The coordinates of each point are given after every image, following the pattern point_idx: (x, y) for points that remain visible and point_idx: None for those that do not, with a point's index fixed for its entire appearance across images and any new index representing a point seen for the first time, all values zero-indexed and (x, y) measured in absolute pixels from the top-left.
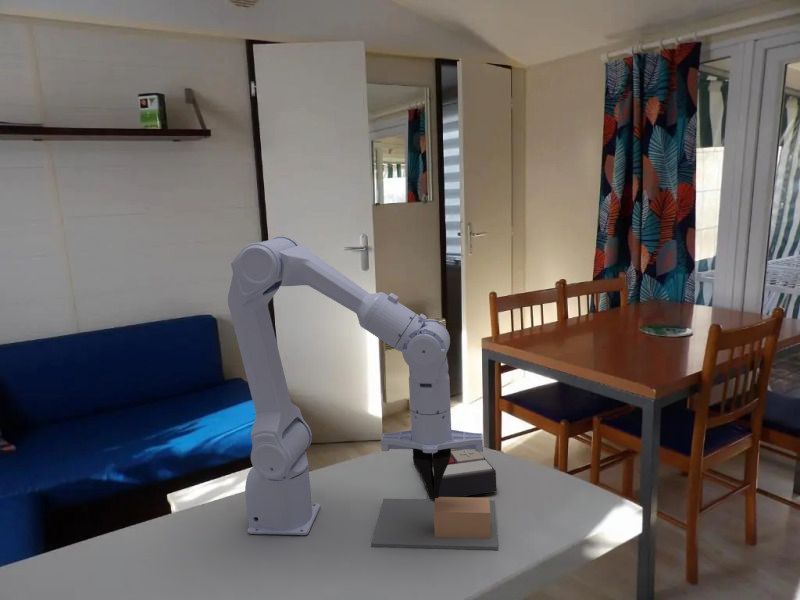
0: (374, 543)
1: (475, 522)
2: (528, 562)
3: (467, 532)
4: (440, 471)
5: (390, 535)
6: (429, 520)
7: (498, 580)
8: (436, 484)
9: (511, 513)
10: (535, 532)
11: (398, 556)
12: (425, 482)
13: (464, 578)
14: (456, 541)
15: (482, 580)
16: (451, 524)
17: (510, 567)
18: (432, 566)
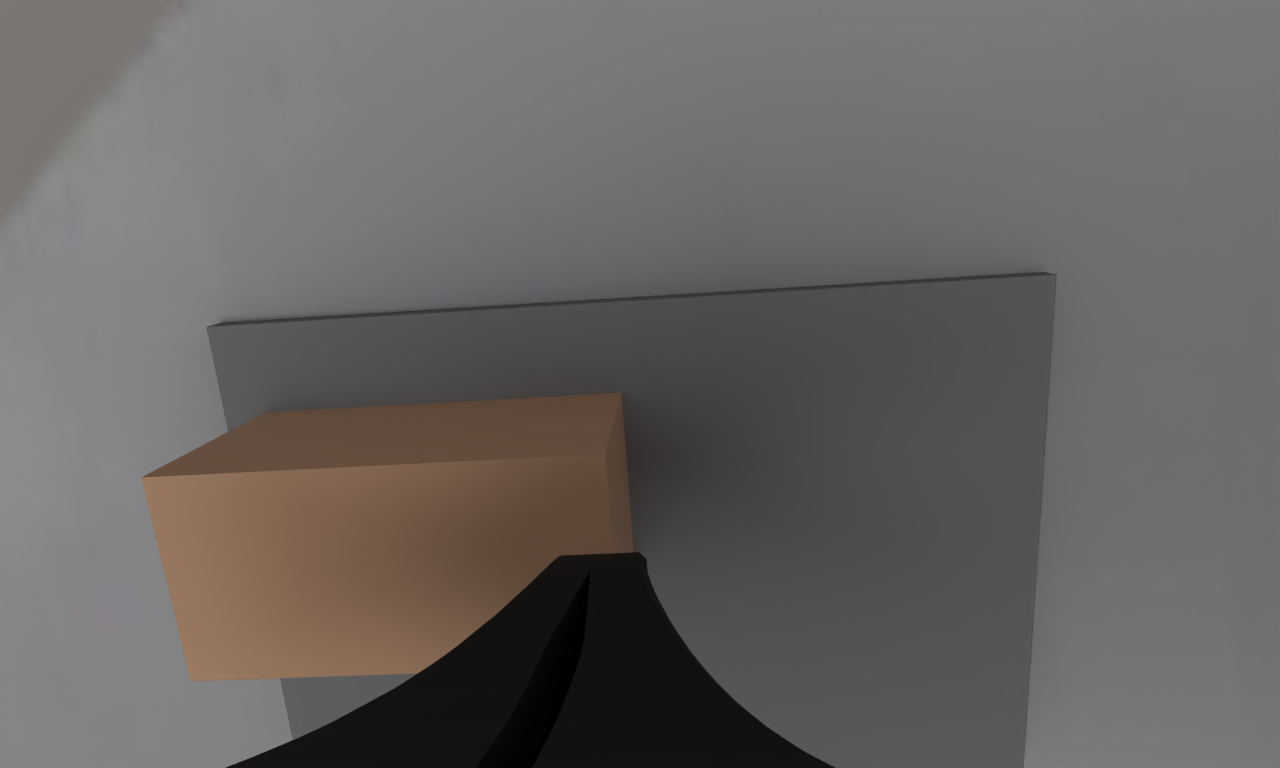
0: (1031, 278)
1: (302, 440)
2: (26, 225)
3: (395, 414)
4: (395, 714)
5: (926, 379)
6: (681, 561)
7: (170, 22)
8: (532, 614)
9: (201, 684)
10: (37, 516)
11: (841, 189)
12: (667, 621)
13: (380, 12)
14: (473, 356)
15: (266, 8)
16: (487, 428)
17: (121, 163)
18: (601, 111)
